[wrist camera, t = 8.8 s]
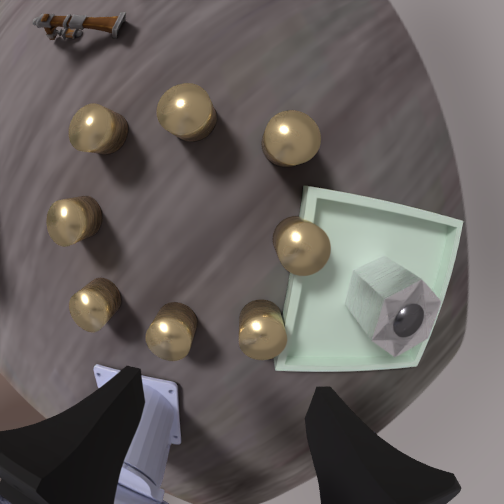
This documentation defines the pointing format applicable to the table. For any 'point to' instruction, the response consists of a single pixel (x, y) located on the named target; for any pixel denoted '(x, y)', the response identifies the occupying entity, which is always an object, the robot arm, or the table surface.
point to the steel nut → (392, 305)
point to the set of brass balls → (177, 314)
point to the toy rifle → (77, 24)
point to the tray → (340, 271)
